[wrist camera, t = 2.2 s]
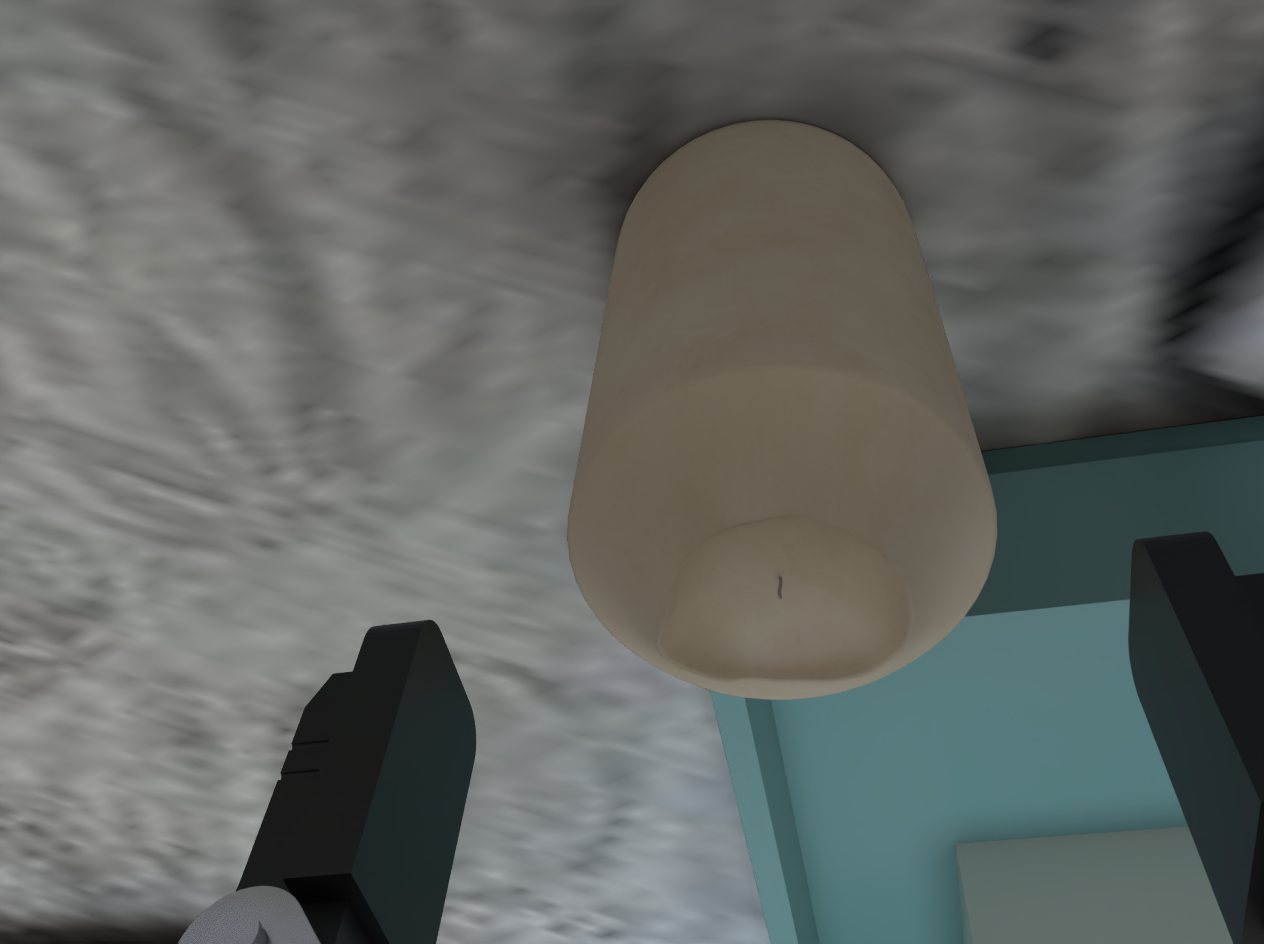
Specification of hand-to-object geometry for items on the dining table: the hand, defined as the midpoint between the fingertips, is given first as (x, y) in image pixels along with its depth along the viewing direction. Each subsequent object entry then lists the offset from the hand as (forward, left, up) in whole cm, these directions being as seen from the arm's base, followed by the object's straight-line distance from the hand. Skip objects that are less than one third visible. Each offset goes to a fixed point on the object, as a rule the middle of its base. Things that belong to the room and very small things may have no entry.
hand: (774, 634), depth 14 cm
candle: (0, 0, -11) cm, 11 cm away
